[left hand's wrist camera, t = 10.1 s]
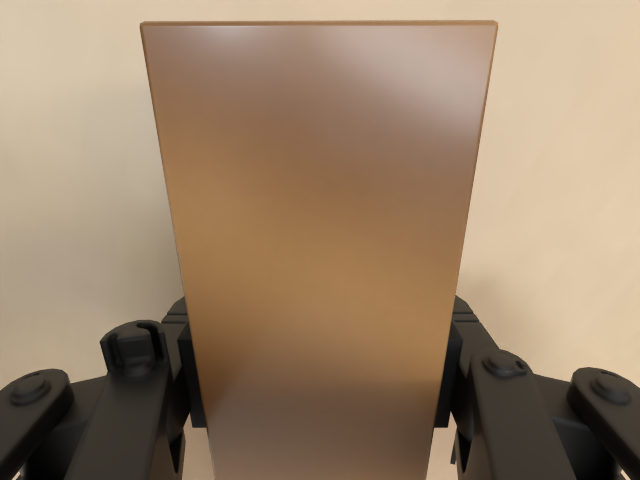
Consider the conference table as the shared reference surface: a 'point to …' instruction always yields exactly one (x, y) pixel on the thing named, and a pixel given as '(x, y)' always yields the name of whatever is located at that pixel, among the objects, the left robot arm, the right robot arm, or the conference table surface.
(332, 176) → the beam
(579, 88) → the conference table surface
